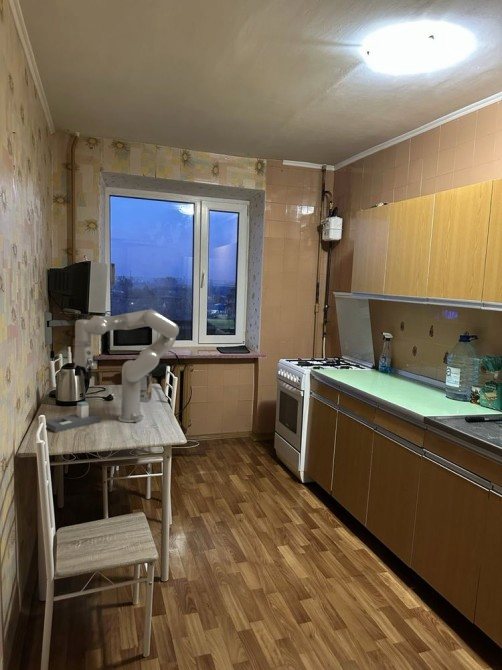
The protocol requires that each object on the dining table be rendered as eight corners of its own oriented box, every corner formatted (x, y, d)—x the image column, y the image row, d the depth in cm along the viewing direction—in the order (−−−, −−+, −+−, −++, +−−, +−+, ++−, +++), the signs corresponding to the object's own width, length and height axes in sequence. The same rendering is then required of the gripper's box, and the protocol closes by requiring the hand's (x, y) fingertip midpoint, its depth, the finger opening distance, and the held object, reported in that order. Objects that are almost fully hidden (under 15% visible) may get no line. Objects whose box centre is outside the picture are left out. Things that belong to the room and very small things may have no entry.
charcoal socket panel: (99, 421, 230) (99, 415, 229) (55, 432, 210) (55, 425, 210) (86, 416, 237) (86, 410, 236) (42, 426, 218) (42, 420, 217)
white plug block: (88, 421, 229) (88, 402, 228) (81, 423, 226) (81, 404, 224) (84, 420, 231) (84, 401, 230) (76, 421, 228) (77, 402, 227)
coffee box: (147, 402, 271) (148, 376, 269) (137, 401, 271) (138, 375, 269) (151, 398, 280) (152, 373, 278) (141, 397, 280) (142, 372, 278)
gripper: (99, 345, 222) (99, 379, 224) (80, 341, 232) (80, 373, 234) (86, 346, 216) (85, 381, 218) (67, 342, 226) (66, 375, 228)
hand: (83, 377), depth 226 cm, fingers open, 9 cm apart
